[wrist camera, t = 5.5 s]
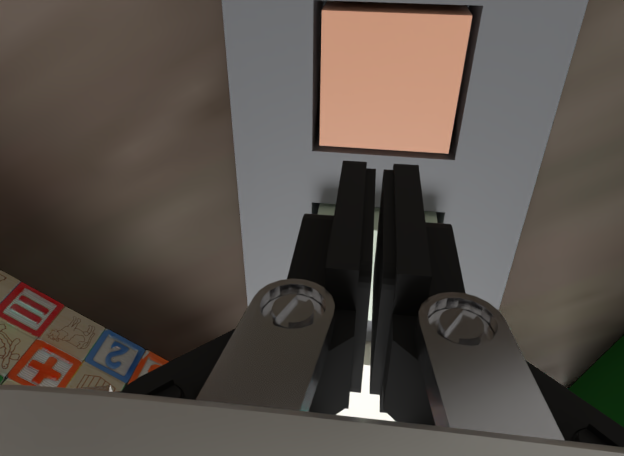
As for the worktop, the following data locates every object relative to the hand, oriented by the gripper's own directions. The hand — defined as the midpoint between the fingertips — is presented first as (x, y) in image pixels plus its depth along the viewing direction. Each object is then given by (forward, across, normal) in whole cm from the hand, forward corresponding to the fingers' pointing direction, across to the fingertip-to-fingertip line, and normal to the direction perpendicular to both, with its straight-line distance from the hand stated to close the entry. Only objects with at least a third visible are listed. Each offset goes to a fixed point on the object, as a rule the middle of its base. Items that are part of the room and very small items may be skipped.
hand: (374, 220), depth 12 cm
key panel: (+13, 0, +8) cm, 15 cm away
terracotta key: (+11, 0, 0) cm, 12 cm away
